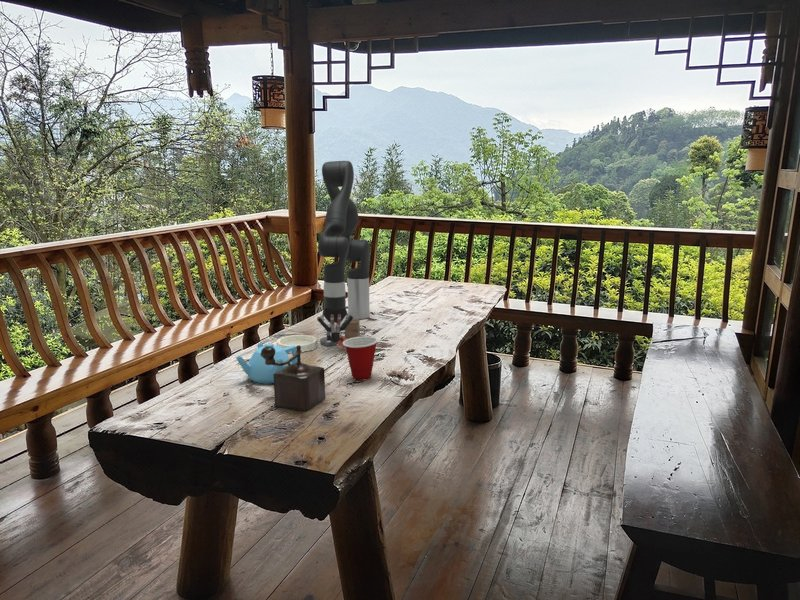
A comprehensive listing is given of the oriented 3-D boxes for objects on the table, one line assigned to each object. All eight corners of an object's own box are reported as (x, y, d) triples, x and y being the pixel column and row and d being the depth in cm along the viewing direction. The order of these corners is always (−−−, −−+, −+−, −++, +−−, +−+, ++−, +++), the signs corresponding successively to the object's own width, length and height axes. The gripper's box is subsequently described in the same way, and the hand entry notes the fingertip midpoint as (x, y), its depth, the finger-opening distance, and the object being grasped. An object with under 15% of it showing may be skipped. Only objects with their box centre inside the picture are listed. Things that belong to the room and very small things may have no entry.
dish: (272, 344, 218) (272, 337, 217) (309, 339, 224) (309, 333, 223) (283, 355, 205) (283, 348, 205) (322, 349, 212) (322, 342, 211)
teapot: (282, 388, 175) (280, 353, 173) (236, 384, 179) (233, 349, 177) (303, 371, 190) (302, 339, 187) (260, 367, 194) (258, 335, 191)
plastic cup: (348, 370, 191) (347, 334, 188) (381, 372, 189) (381, 335, 186) (339, 382, 180) (338, 344, 177) (374, 384, 178) (373, 345, 176)
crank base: (317, 342, 221) (316, 324, 219) (335, 339, 224) (334, 322, 222) (323, 347, 215) (323, 329, 213) (342, 344, 218) (341, 326, 216)
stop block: (346, 336, 228) (346, 319, 226) (359, 336, 227) (359, 319, 226) (344, 340, 223) (344, 322, 221) (358, 340, 223) (357, 322, 221)
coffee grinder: (293, 392, 172) (290, 332, 168) (326, 398, 168) (324, 337, 164) (260, 413, 158) (256, 348, 154) (295, 419, 154) (292, 353, 150)
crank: (329, 342, 217) (329, 332, 216) (333, 341, 218) (333, 331, 217) (343, 348, 210) (343, 338, 209) (347, 347, 211) (346, 337, 210)
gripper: (351, 291, 212) (352, 338, 215) (314, 292, 208) (315, 340, 212) (355, 295, 204) (355, 344, 208) (316, 297, 201) (317, 346, 205)
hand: (335, 342), depth 210 cm, fingers closed
